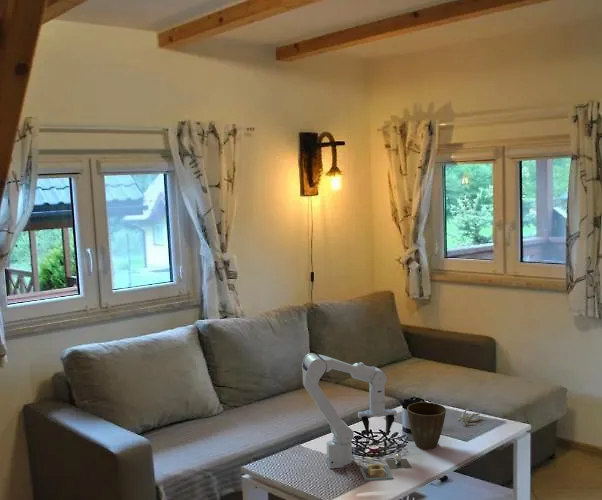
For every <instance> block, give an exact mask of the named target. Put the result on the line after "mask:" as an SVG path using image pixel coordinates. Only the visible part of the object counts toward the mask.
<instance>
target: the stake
mask: <svg viewBox="0 0 602 500" xmlns="http://www.w3.org/2000/svg"><path fill="white" fill-rule="evenodd" d="M385 463H386V464H387V467H389V469H390V470H399V469H410V468H413V467H412V465H411V464H410V462H409V461H408V459H407V458H402V455H401V454H400V453H396V454H395V458H394V459H385Z"/></svg>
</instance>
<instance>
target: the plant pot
mask: <svg viewBox="0 0 602 500" xmlns="http://www.w3.org/2000/svg"><path fill="white" fill-rule="evenodd" d="M406 409H407V416H408V417H407V418H408V423H409V428H410V433H411V435H412V438H413V441H414V445H415V447H417V448H418V449H421V450H433V449H435V448H437V445H438V443H439V441H440V438H441V435H442V431H443V428H444V423H445V419H446V414H447V413H446V412H447V409H446V407H445V406H443V405H442V404H438V403H435V402H428V401H427V402H426V401H422V402H413V403H410V404H408V406H407V407H406Z"/></svg>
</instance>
